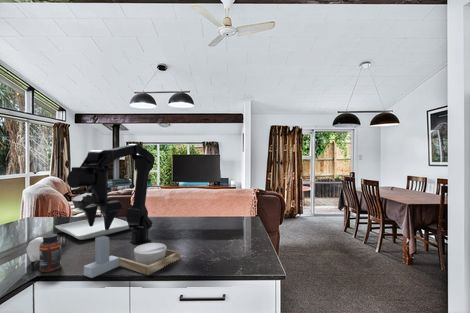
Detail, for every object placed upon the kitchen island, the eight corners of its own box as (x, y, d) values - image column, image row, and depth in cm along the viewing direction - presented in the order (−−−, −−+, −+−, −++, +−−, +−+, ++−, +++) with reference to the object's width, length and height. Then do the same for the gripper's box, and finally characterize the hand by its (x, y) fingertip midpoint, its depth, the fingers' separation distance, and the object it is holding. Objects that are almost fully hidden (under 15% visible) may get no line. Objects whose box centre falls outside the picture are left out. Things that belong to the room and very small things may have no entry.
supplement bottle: (65, 265, 90) (65, 232, 90) (53, 272, 84) (53, 238, 84) (47, 265, 90) (47, 232, 90) (34, 273, 84) (34, 238, 84)
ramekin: (156, 270, 86) (156, 254, 86) (126, 267, 89) (127, 252, 89) (171, 257, 97) (172, 243, 97) (145, 255, 100) (145, 241, 100)
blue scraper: (83, 275, 83) (83, 241, 83) (111, 263, 92) (111, 232, 92) (91, 278, 81) (91, 243, 81) (119, 266, 90) (119, 234, 90)
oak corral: (151, 251, 103) (151, 245, 103) (179, 258, 96) (179, 252, 96) (118, 265, 90) (118, 258, 90) (148, 275, 83) (148, 267, 83)
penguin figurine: (24, 239, 91) (49, 232, 103) (23, 264, 90) (48, 254, 102) (42, 239, 91) (65, 232, 103) (41, 264, 90) (64, 254, 102)
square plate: (77, 244, 112) (77, 235, 112) (54, 232, 129) (54, 225, 129) (134, 230, 134) (134, 222, 134) (108, 221, 150) (108, 215, 150)
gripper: (60, 185, 91) (60, 229, 91) (92, 189, 82) (92, 238, 82) (91, 182, 101) (91, 222, 101) (123, 185, 92) (123, 229, 92)
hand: (98, 228), depth 94 cm, fingers open, 9 cm apart
